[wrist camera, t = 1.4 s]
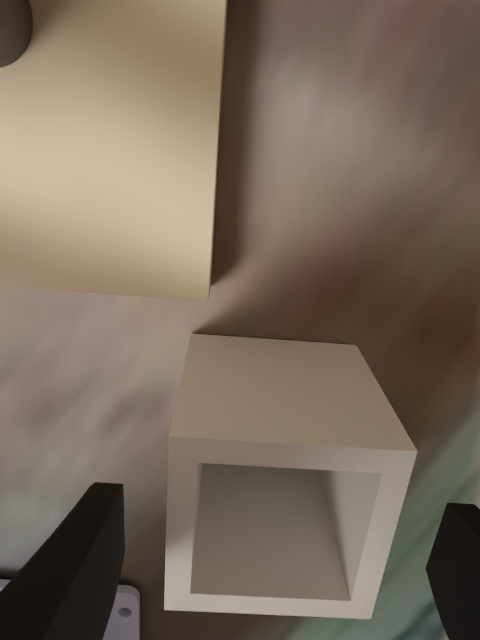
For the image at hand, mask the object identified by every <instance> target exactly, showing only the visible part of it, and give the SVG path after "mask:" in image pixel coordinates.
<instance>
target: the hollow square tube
mask: <svg viewBox="0 0 480 640" xmlns="http://www.w3.org/2000/svg"><path fill="white" fill-rule="evenodd" d="M417 452H418V451H417V450H416V448H415V446H414V444H413V443H412V441H411V439H410V437H409V436H408V434H407V432H406V430H405V429H404V427H403V425H402V424H401V422H400V420H399V418H398V417H397V415H396V413H395V411H394V410H393V408H392V406H391V404H390V403H389V401H388V399H387V398H386V396H385V394H384V392H383V391H382V389H381V387H380V385H379V384H378V382H377V380H376V379H375V377H374V375H373V373H372V372H371V370H370V368H369V366H368V365H367V363H366V361H365V359H364V358H363V356H362V354H361V353H360V351H359V349H358V347H357V346H356V345H349V344H335V343H320V342H306V341H291V340H277V339H263V338H248V337H234V336H219V335H205V334H191V336H190V341H189V345H188V350H187V354H186V359H185V364H184V368H183V373H182V377H181V382H180V386H179V391H178V395H177V400H176V404H175V409H174V413H173V418H172V423H171V427H170V432H169V436H168V473H167V512H166V551H165V590H164V610H175V611H197V612H220V613H242V614H264V615H287V616H309V617H331V618H354V619H371V617H372V613H373V609H374V606H375V602H376V599H377V595H378V591H379V588H380V584H381V581H382V577H383V574H384V570H385V566H386V563H387V559H388V556H389V552H390V548H391V545H392V541H393V538H394V534H395V531H396V527H397V523H398V520H399V516H400V513H401V509H402V505H403V502H404V498H405V495H406V491H407V488H408V484H409V480H410V477H411V473H412V470H413V466H414V462H415V459H416V455H417Z"/></svg>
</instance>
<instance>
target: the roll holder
mask: <svg viewBox="0 0 480 640" xmlns="http://www.w3.org/2000/svg"><path fill="white" fill-rule="evenodd" d="M227 1H228V0H0V286H3V287H17V288H31V289H44V290H58V291H72V292H86V293H100V294H114V295H128V296H141V297H155V298H169V299H183V300H197V301H208V300H209V294H210V288H211V272H212V255H213V238H214V221H215V204H216V188H217V171H218V154H219V137H220V120H221V103H222V86H223V69H224V52H225V35H226V18H227Z"/></svg>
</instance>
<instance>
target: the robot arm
mask: <svg viewBox="0 0 480 640" xmlns="http://www.w3.org/2000/svg"><path fill="white" fill-rule="evenodd" d="M124 554H125V542H124V496H123V484H115V483H98V482H95V483H94V484H92V485H91V486H90V487H89V488H88V490H87V491H86V492H85V494H84V495H83V496H82V498H81V499H80V500H79V501H78V503H77V504H76V505H75V507H74V508H73V509H72V510H71V512H70V513H69V514H68V515H67V517H66V518H65V519H64V520H63V521H62V523H61V524H60V525H59V526H58V527H57V529H56V530H55V531H54V532H53V533H52V535H51V536H50V537H49V538H48V539H47V540H46V542H45V543H44V544H43V545H42V546H41V547H40V548H39V550H38V551H37V552H36V553H35V554H34V555H33V556H32V558H31V559H30V560H29V561H28V562H27V563H26V564H25V565H24V567H23V568H22V569H21V570H20V571H19V572H18V573H17V574H16V575H15V576H14V577H13V578H12V579H11V580H5V579H0V640H140V594H139V591H138V590H137V589H136V588H134V587H132V586H128V585H118V583H119V578H120V573H121V568H122V563H123V559H124ZM426 572H427V575H428V579H429V582H430V586H431V589H432V593H433V596H434V599H435V603H436V606H437V609H438V612H439V615H440V619H441V621H442V624H443V626H444V628H445V631H446V633H447V636H448V638H449V640H480V509H479V508H478V507H477V506H475V505H474V504H459V503H447V505H446V508H445V511H444V514H443V518H442V521H441V524H440V527H439V530H438V533H437V536H436V539H435V542H434V545H433V548H432V551H431V554H430V557H429V560H428V563H427V566H426Z"/></svg>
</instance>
